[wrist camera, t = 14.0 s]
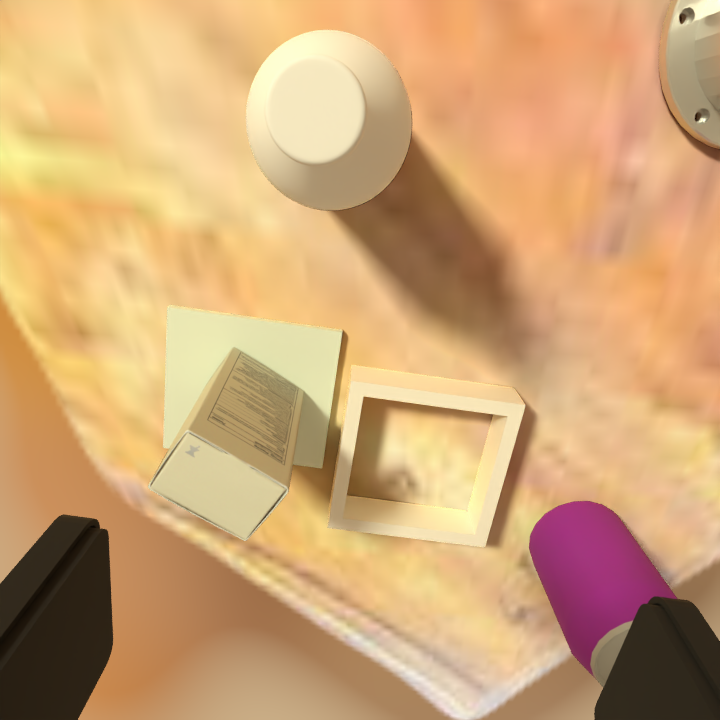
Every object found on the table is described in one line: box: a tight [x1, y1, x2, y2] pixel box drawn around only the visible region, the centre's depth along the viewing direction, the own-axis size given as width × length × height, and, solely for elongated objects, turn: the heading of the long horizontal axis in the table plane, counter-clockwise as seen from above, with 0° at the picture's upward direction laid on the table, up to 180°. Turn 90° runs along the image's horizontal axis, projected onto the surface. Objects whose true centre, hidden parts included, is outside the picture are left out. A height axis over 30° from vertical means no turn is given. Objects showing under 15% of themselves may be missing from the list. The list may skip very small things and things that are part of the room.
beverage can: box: [529, 501, 677, 688], centre depth 39 cm, size 8×8×12 cm
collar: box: [328, 365, 526, 547], centre depth 40 cm, size 12×12×3 cm
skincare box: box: [148, 347, 304, 541], centre depth 34 cm, size 6×4×12 cm
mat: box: [163, 305, 343, 468], centre depth 40 cm, size 12×11×1 cm
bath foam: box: [246, 30, 412, 211], centre depth 25 cm, size 7×7×20 cm
